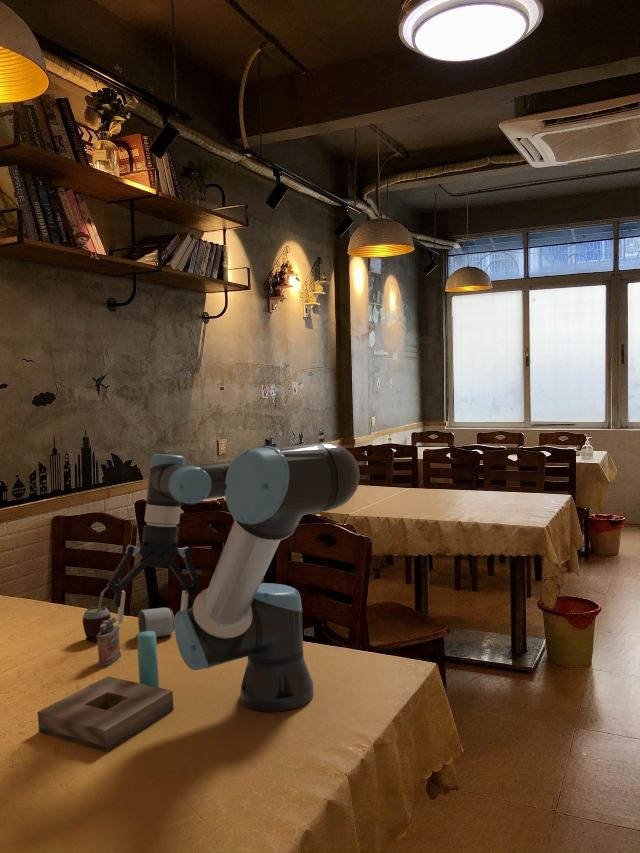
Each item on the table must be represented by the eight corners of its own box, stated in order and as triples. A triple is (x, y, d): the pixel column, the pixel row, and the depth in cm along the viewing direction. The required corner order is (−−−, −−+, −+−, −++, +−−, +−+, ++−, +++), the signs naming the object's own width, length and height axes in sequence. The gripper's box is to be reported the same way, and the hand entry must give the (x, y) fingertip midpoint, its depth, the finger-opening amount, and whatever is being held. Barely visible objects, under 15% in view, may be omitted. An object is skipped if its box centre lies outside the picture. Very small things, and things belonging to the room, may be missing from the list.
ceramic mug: (177, 636, 183) (175, 608, 183) (146, 643, 179) (144, 614, 179) (163, 626, 192) (162, 599, 192) (134, 633, 188) (132, 605, 188)
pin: (162, 686, 152) (159, 632, 152) (149, 693, 149) (146, 638, 148) (148, 683, 154) (145, 630, 154) (136, 690, 151) (132, 636, 150)
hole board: (173, 709, 141) (172, 690, 140) (107, 752, 125) (105, 730, 125) (108, 694, 149) (107, 676, 149) (38, 732, 134) (37, 711, 133)
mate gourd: (87, 635, 187) (84, 580, 186) (117, 633, 188) (114, 578, 187) (80, 645, 180) (77, 588, 179) (112, 643, 181) (108, 586, 180)
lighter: (108, 668, 164) (105, 626, 164) (94, 667, 165) (92, 625, 164) (124, 654, 172) (121, 615, 171) (111, 654, 173) (109, 614, 172)
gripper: (212, 525, 161) (203, 617, 160) (100, 519, 151) (90, 618, 150) (221, 528, 154) (211, 625, 153) (105, 523, 144) (94, 627, 143)
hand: (151, 622), depth 151 cm, fingers open, 13 cm apart
